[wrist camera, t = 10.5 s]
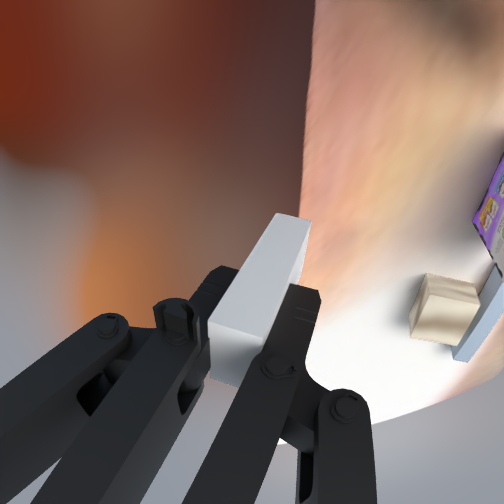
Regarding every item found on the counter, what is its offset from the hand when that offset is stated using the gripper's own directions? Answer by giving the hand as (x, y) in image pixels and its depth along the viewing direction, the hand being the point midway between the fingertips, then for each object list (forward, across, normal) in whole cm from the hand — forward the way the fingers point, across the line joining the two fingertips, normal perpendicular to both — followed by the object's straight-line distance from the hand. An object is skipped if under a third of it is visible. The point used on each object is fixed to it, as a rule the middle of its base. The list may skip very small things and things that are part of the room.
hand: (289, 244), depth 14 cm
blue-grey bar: (+26, +27, -19) cm, 42 cm away
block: (+27, +20, -20) cm, 39 cm away
